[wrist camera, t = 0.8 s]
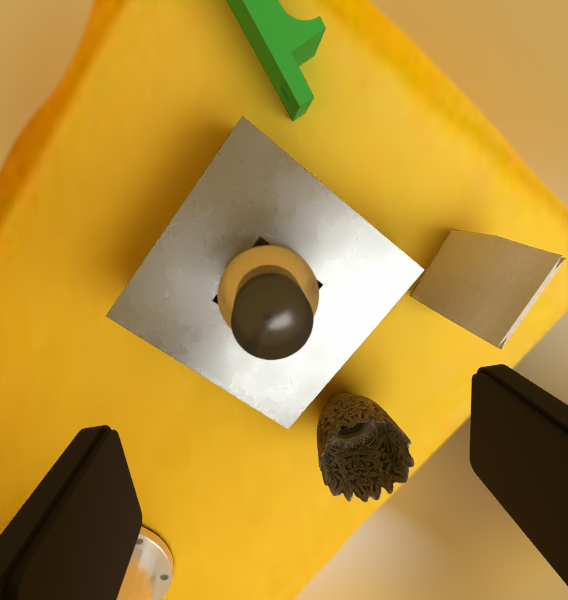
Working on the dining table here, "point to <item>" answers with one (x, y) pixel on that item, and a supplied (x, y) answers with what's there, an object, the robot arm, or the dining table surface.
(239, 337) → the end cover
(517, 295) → the tan milk carton
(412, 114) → the dining table surface
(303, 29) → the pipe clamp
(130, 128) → the dining table surface
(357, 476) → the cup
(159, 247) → the plate
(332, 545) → the dining table surface
